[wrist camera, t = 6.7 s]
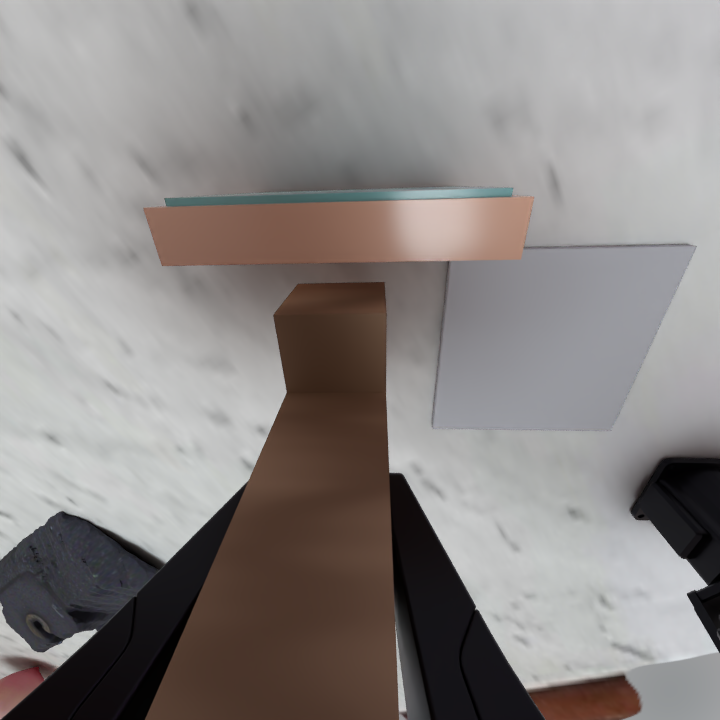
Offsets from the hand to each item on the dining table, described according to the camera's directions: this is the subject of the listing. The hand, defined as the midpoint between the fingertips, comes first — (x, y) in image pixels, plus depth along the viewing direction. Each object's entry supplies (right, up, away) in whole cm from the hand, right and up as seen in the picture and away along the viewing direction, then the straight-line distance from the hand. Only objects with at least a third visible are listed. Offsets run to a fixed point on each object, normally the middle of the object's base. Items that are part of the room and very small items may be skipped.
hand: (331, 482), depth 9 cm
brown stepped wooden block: (0, +2, +4) cm, 5 cm away
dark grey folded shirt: (-30, -21, +28) cm, 46 cm away
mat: (+12, +4, +11) cm, 16 cm away
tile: (+1, +11, +8) cm, 13 cm away
